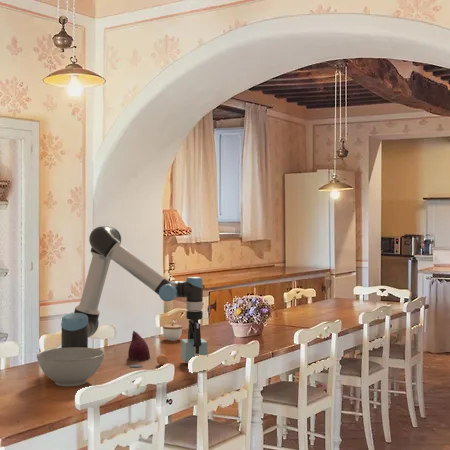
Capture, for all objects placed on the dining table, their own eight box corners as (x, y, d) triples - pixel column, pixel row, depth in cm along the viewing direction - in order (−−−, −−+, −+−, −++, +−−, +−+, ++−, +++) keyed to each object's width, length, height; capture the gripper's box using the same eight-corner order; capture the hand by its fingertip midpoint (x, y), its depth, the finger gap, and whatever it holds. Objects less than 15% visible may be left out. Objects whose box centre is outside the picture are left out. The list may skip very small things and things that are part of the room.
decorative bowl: (108, 375, 294) (108, 347, 294) (98, 391, 267) (99, 360, 267) (44, 375, 293) (45, 347, 293) (29, 391, 266) (29, 360, 266)
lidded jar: (179, 341, 375) (179, 324, 375) (160, 341, 377) (160, 323, 377) (184, 338, 386) (184, 321, 386) (165, 337, 388) (166, 321, 388)
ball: (157, 366, 312) (157, 355, 312) (155, 364, 317) (155, 353, 317) (168, 366, 314) (168, 355, 313) (166, 363, 318) (166, 353, 318)
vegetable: (130, 367, 325) (123, 338, 322) (128, 360, 335) (121, 331, 332) (152, 361, 327) (145, 331, 324) (149, 354, 337) (142, 325, 334)
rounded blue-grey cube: (185, 362, 313) (185, 343, 313) (181, 357, 323) (181, 339, 323) (207, 361, 316) (207, 342, 316) (202, 356, 325) (202, 338, 325)
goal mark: (130, 368, 308) (130, 367, 308) (128, 365, 314) (128, 364, 314) (143, 367, 310) (143, 367, 310) (141, 364, 316) (141, 364, 316)
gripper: (208, 313, 309) (207, 362, 309) (196, 307, 331) (196, 353, 331) (191, 313, 307) (191, 363, 307) (181, 307, 329) (181, 353, 329)
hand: (194, 358), depth 319 cm, fingers closed on rounded blue-grey cube, 10 cm apart
